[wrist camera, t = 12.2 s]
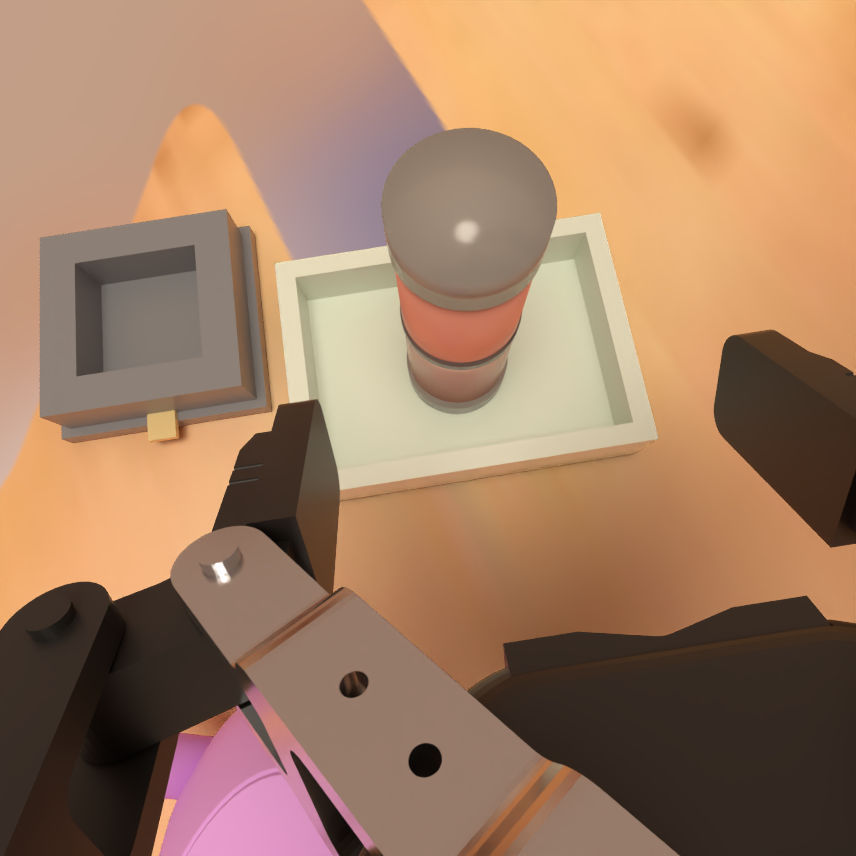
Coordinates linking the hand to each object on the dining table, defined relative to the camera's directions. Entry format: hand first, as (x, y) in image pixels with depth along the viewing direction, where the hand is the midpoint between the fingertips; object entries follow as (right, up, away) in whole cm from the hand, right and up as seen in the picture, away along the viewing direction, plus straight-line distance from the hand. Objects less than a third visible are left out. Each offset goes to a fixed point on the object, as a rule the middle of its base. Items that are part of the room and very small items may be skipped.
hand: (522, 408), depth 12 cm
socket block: (-14, +4, +16) cm, 21 cm away
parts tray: (-1, +2, +15) cm, 15 cm away
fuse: (-1, +2, +14) cm, 14 cm away
